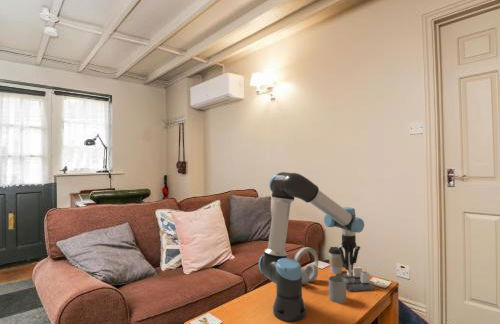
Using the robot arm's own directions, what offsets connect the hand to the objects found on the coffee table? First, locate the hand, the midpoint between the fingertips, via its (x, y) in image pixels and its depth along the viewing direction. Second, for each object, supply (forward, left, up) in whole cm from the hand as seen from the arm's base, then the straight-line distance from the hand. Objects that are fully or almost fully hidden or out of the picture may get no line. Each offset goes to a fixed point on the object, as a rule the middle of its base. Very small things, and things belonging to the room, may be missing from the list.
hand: (349, 275), depth 167 cm
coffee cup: (-2, +14, -4) cm, 15 cm away
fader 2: (+5, -8, -1) cm, 10 cm away
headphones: (-25, +1, -4) cm, 25 cm away
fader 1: (+5, 0, -1) cm, 5 cm away
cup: (-15, -20, -4) cm, 25 cm away
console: (+1, -4, -3) cm, 5 cm away
